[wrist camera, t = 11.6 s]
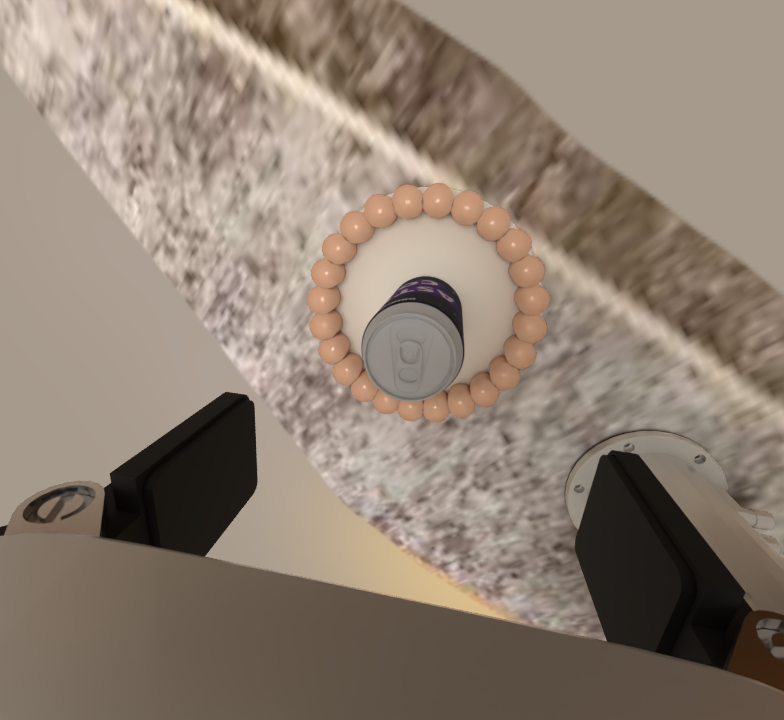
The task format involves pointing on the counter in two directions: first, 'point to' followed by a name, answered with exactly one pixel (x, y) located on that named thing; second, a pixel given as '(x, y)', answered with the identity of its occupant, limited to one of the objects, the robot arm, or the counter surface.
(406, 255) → the round dish
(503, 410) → the counter surface
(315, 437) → the counter surface
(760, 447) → the counter surface
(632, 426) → the counter surface
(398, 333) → the beverage can
